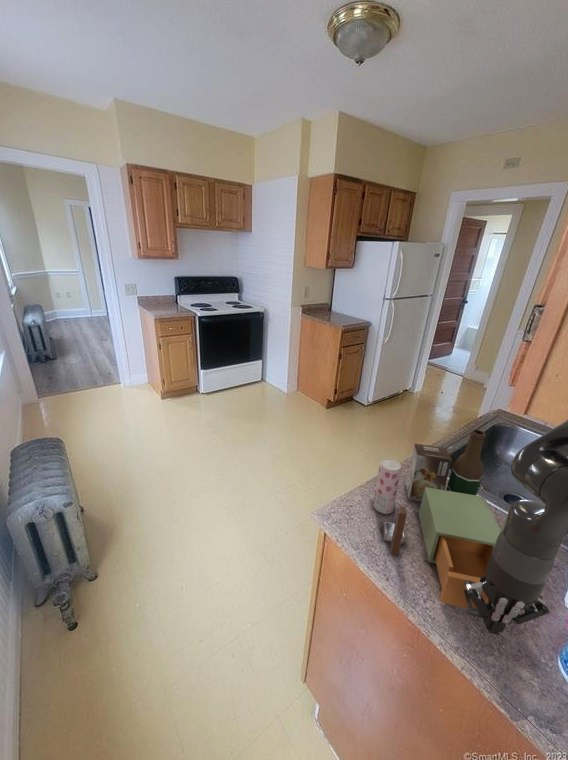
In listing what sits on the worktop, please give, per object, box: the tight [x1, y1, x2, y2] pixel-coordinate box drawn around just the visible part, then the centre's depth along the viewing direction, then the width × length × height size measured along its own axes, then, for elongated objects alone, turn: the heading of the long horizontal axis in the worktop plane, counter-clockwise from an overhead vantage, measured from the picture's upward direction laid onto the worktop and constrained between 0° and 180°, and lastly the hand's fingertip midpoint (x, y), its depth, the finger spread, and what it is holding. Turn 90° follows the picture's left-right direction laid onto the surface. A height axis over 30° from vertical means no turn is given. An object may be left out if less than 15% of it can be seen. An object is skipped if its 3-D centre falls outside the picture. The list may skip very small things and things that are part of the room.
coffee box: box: [406, 443, 453, 503], centre depth 94 cm, size 9×6×16 cm
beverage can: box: [372, 457, 402, 515], centre depth 90 cm, size 6×6×15 cm
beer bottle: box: [445, 429, 487, 496], centre depth 91 cm, size 8×8×24 cm
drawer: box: [434, 535, 513, 626], centre depth 68 cm, size 19×13×8 cm
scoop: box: [382, 505, 408, 556], centre depth 79 cm, size 5×8×13 cm, turn 167°
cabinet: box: [418, 487, 502, 565], centre depth 80 cm, size 16×15×10 cm
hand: (491, 628), depth 59 cm, fingers closed
